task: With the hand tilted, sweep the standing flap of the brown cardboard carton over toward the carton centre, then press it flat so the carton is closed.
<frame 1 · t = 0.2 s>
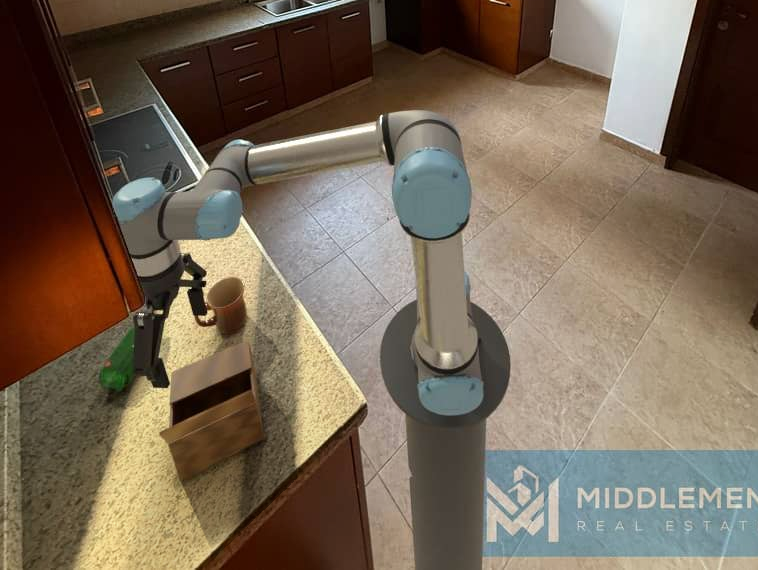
hand: (182, 347, 82), 20 cm above the counter, tool pointing down, fingers open, 13 cm apart
mug: (226, 327, 107), on the counter
flap: (210, 416, 76), point 14 cm above the counter, hinge at 110.0°
snack package: (135, 359, 100), on the counter
carton: (222, 423, 87), on the counter
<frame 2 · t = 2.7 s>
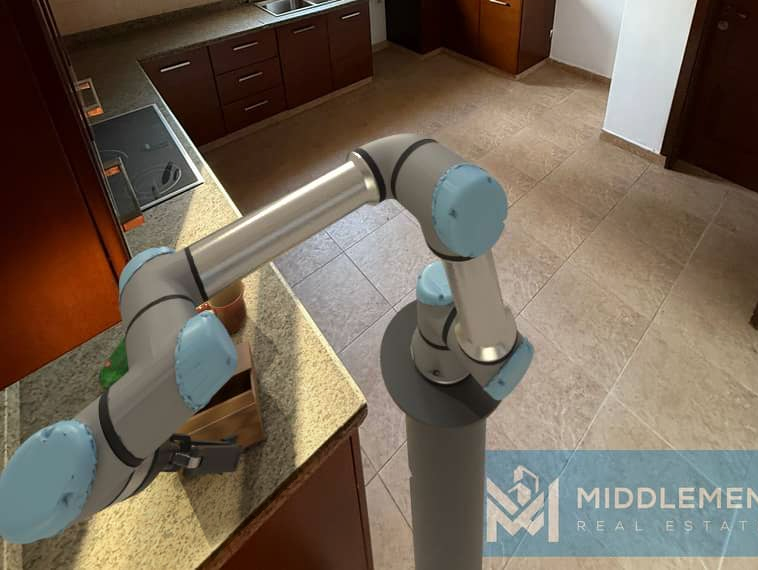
hand: (189, 435, 65), 24 cm above the counter, tool tilted 35°, fingers open, 13 cm apart
nothing on the counter moved.
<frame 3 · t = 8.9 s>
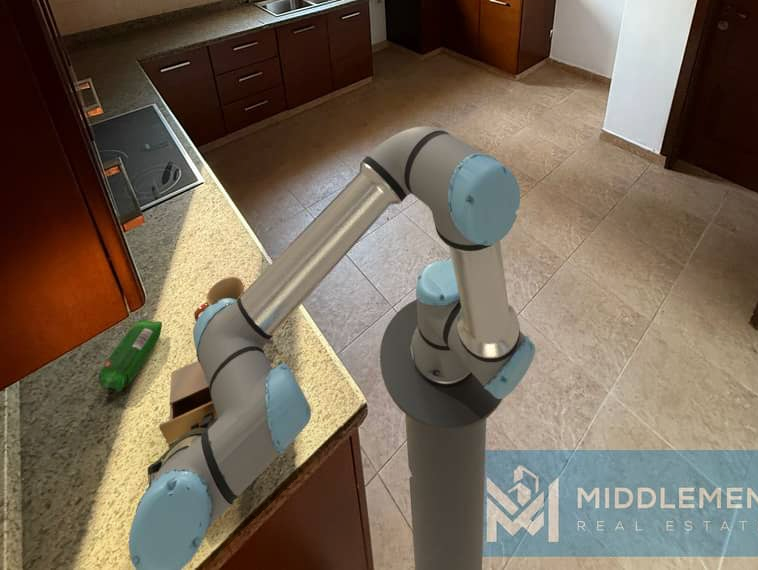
hand: (210, 423, 75), 14 cm above the counter, tool tilted 45°, fingers closed
flap: (210, 412, 76), point 14 cm above the counter, hinge at 101.2°, touching gripper
everything else where it was.
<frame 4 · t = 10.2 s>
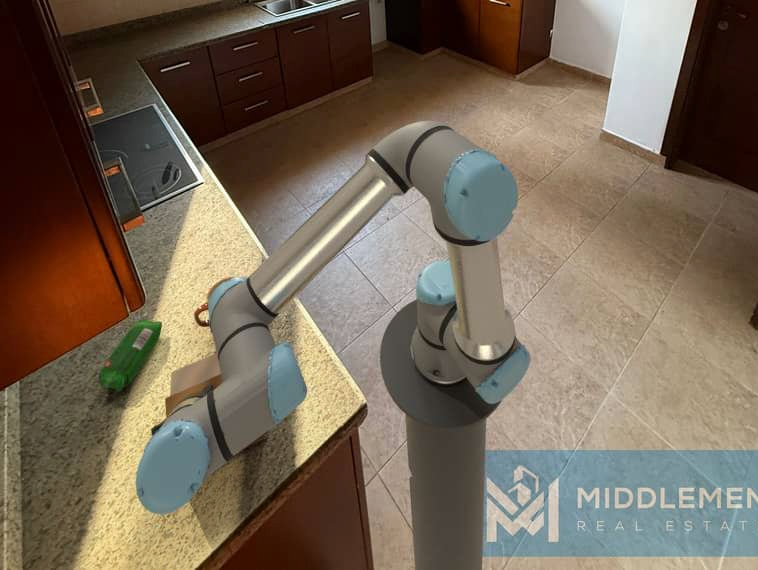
hand: (209, 394, 80), 14 cm above the counter, tool tilted 45°, fingers closed
flap: (210, 399, 80), point 13 cm above the counter, hinge at 34.3°, touching gripper
everything else where it was.
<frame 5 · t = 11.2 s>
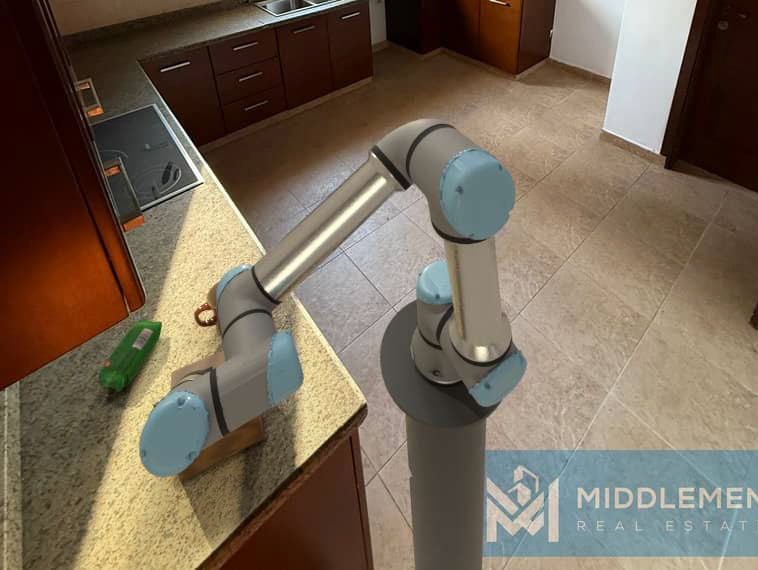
hand: (209, 376, 83), 14 cm above the counter, tool tilted 45°, fingers closed
flap: (211, 400, 80), point 12 cm above the counter, hinge at 15.0°, touching gripper
everything else where it was.
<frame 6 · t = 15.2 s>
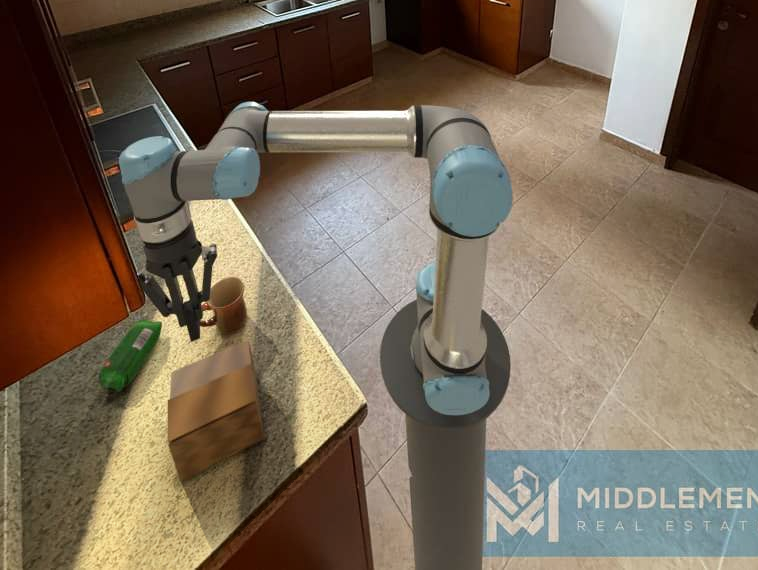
hand: (195, 333, 77), 27 cm above the counter, tool pointing down, fingers closed
flap: (211, 400, 80), point 12 cm above the counter, hinge at 15.0°
everything else where it was.
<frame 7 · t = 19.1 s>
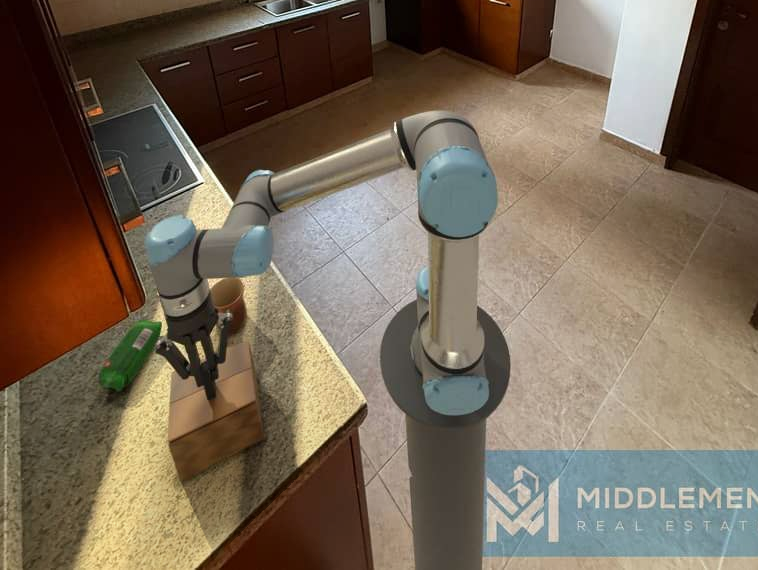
hand: (211, 391, 82), 12 cm above the counter, tool pointing down, fingers closed
flap: (212, 402, 81), point 11 cm above the counter, hinge at 1.1°, touching gripper
everything else where it was.
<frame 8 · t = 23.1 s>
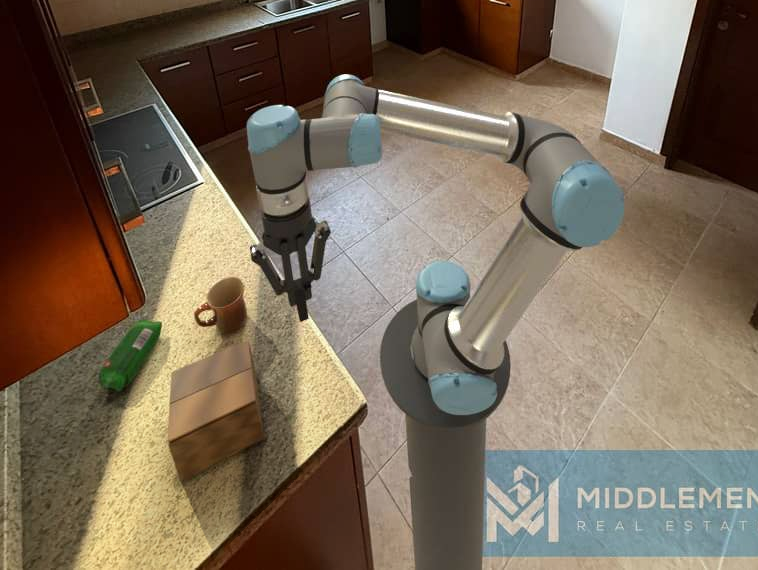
hand: (302, 313, 74), 32 cm above the counter, tool pointing down, fingers closed
flap: (212, 402, 81), point 11 cm above the counter, hinge at 0.7°
everything else where it was.
at the end: flap at +1° (first picture: +110°) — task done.
